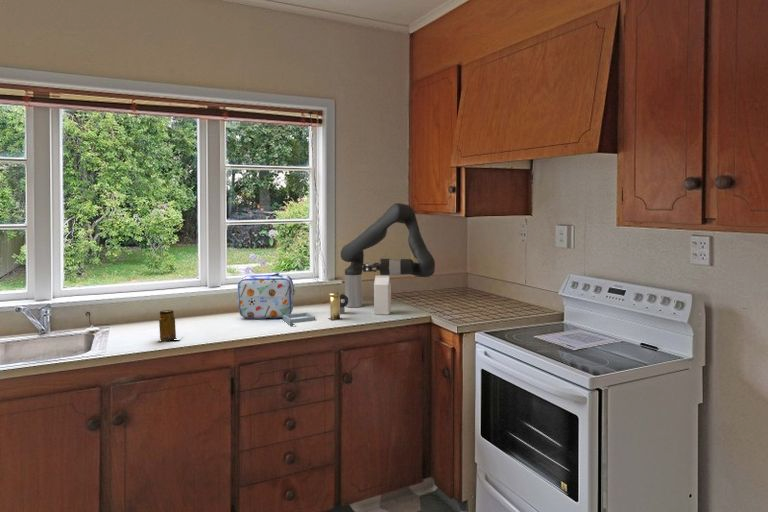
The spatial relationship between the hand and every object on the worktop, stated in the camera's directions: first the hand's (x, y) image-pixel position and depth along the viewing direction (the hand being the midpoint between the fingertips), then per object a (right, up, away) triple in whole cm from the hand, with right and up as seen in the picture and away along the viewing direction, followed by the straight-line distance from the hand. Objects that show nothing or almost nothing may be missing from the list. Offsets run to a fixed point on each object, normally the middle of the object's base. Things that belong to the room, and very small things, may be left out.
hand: (354, 267), depth 238 cm
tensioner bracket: (-8, -25, +10) cm, 28 cm away
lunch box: (-43, -25, +18) cm, 53 cm away
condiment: (-74, -29, -23) cm, 83 cm away
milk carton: (+13, -24, +24) cm, 36 cm away
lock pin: (-9, -24, +5) cm, 26 cm away
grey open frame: (-26, -26, +6) cm, 37 cm away
